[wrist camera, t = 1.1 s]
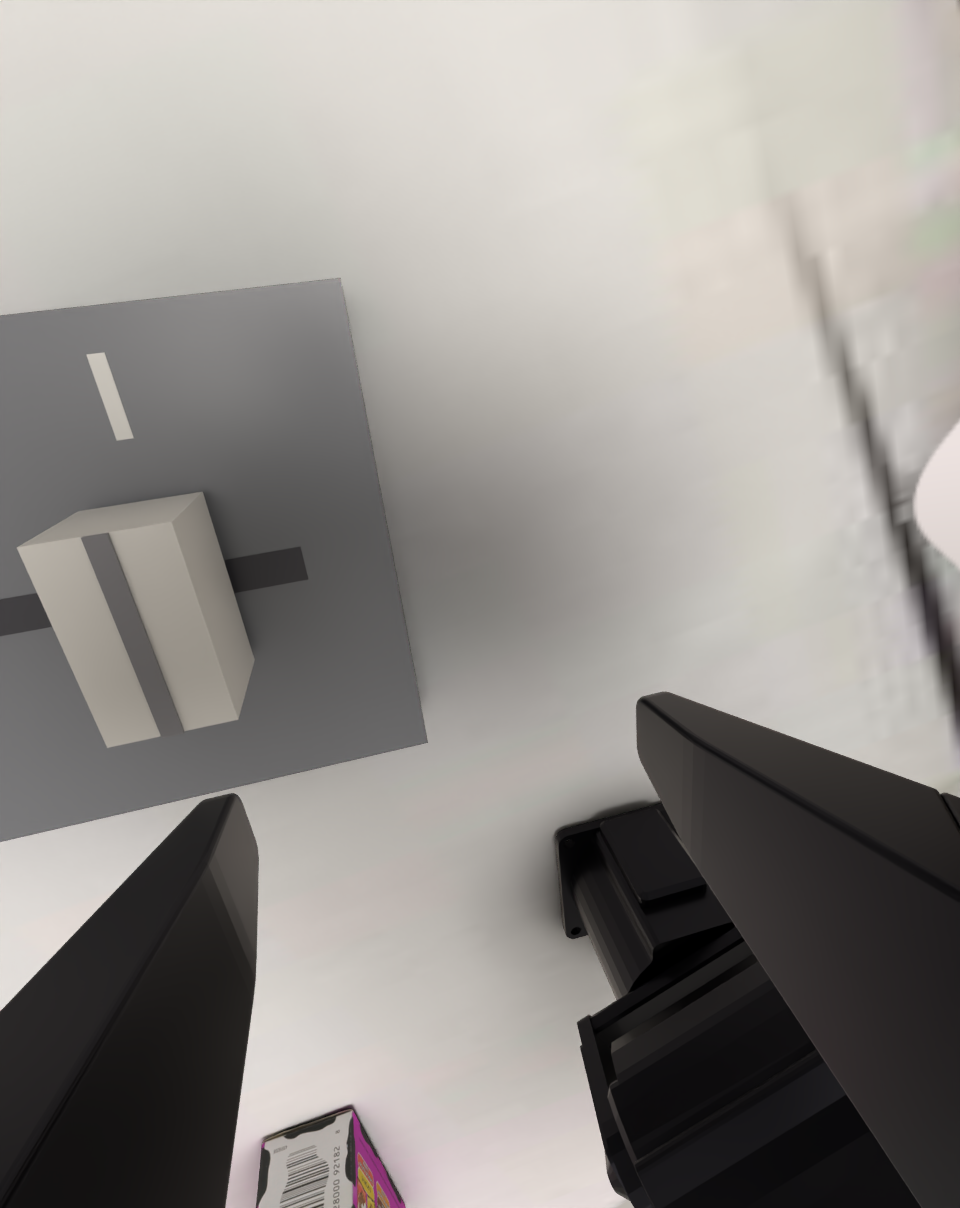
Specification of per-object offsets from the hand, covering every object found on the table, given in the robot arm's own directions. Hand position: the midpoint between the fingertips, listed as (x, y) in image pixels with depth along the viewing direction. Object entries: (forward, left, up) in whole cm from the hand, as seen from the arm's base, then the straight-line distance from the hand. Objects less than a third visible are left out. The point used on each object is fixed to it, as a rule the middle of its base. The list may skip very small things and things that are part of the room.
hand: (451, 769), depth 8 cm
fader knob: (0, +6, -10) cm, 12 cm away
